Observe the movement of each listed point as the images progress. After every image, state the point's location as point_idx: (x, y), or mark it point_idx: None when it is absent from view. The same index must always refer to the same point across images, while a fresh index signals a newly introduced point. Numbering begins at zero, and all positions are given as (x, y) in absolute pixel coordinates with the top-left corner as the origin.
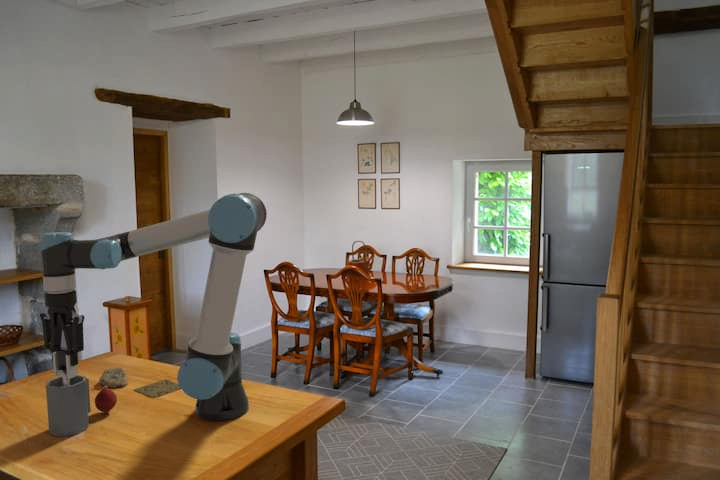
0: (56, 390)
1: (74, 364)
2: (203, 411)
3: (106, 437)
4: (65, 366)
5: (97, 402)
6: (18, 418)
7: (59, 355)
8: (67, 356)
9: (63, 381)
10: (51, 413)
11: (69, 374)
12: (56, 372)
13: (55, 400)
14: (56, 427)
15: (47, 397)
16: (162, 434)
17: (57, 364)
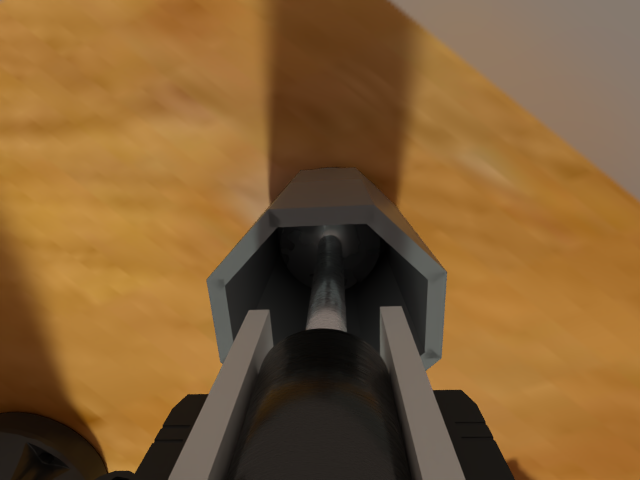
0: (275, 205)
1: (175, 412)
2: (3, 433)
3: (164, 231)
4: (261, 370)
5: None
6: (590, 218)
7: (288, 457)
8: (180, 470)
9: (328, 304)
10: (336, 178)
11: (240, 331)
12: (383, 327)
13: (297, 191)
14: (314, 171)
15: (360, 190)
16: (38, 308)
17: (338, 361)
